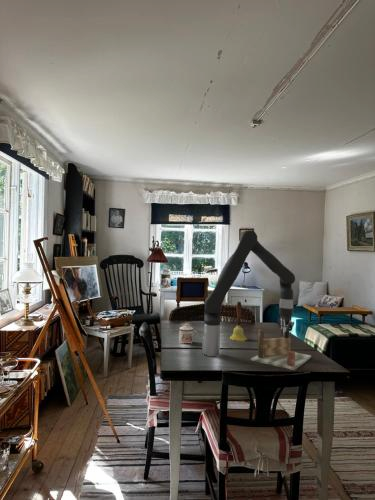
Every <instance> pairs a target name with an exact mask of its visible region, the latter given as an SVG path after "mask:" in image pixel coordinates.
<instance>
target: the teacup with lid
mask: <svg viewBox="0 0 375 500" xmlns="http://www.w3.org/2000/svg"><path fill="white" fill-rule="evenodd" d="M178 331H179V335H178V336H179V339H178V341H180V342H182V343H191V342H193V343H194V340H195V339H197V337H198V335H199V334H198V331H196V330H194V328H193V327H192V326H190V325H189V324H188V323H184V325H183V326H180V327H179V329H178ZM194 333H195V336H194ZM193 339H194V340H193ZM180 342H179V343H180ZM191 344H192V343H191Z"/></svg>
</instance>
